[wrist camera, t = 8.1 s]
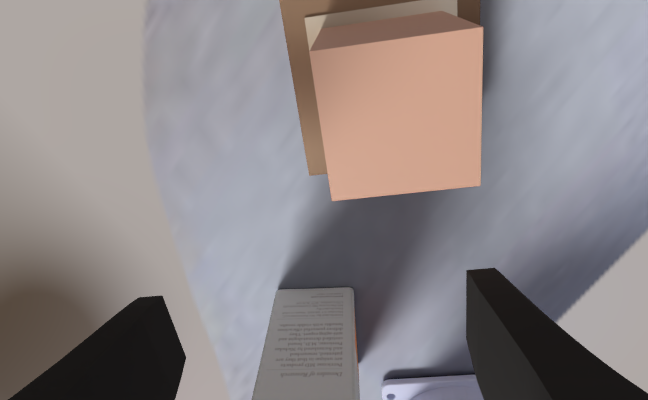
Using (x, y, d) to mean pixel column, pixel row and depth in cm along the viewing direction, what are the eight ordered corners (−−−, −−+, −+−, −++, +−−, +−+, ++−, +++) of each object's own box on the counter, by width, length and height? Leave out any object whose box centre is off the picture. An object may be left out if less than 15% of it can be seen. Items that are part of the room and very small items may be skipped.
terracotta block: (444, 127, 16) (480, 185, 12) (336, 140, 17) (331, 201, 12) (442, 10, 14) (483, 26, 10) (321, 28, 15) (309, 51, 10)
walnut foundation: (463, 135, 19) (478, 157, 17) (313, 153, 20) (309, 176, 17) (462, -34, 16) (481, -35, 14) (288, -7, 17) (278, -3, 14)
